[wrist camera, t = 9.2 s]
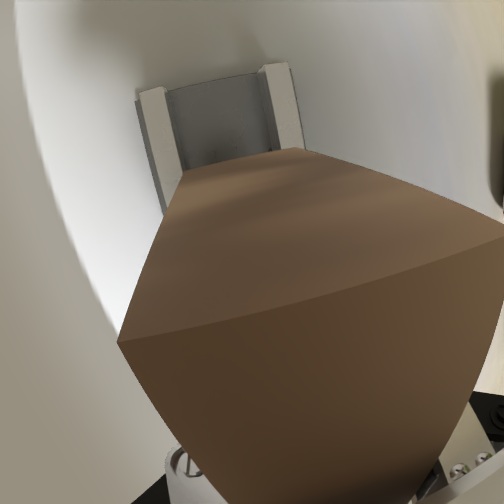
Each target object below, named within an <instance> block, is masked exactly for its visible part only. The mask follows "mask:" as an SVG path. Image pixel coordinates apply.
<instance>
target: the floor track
mask: <svg viewBox="0 0 504 504" xmlns="http://www.w3.org/2000/svg"><path fill="white" fill-rule="evenodd" d="M139 96H140V100H138V101H135V105H136V110H137V114H138V119H139V123H140V128H141V132H142V136H143V140H144V144H145V148H146V152H147V156H148V160H149V164H150V168H151V172H152V176H153V179H154V183H155V187H156V191H157V194H158V198H159V201H160V205H161V208H162V212H163V215H165V213H166V210H167V208H168V206H169V204H170V201H171V199H172V197H173V195H174V192H175V190H176V188H177V186H178V184H179V181H180V179H181V177H182V175H183V173H184V171H186V170H190V169H194V168H198V167H202V166H206V165H211V164H215V163H219V162H223V161H228V160H232V159H237V158H241V157H246V156H251V155H256V154H261V153H266V152H271V151H276V150H281V149H287V148H292V147H297V148H301V149H305V150H306V147H305V141H304V136H303V130H302V125H301V119H300V114H299V108H298V103H297V98H296V93H295V88H294V83H293V78H292V74H291V69H290V68H289V65H288V62H281V63H273V64H265V65H263V66H262V67H261V69H260V70H259V71H258V72H257V73H252V74H246V75H240V76H235V77H229V78H224V79H219V80H214V81H210V82H205V83H200V84H196V85H192V86H188V87H184V88H180V89H176V90H172V91H168V90H167V89H165V88H164V87H163V86H160V87H156V88H153V89H149V90H146V91H143V92H140V93H139Z"/></svg>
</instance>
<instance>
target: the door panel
mask: <svg viewBox="0 0 504 504" xmlns="http://www.w3.org/2000/svg"><path fill="white" fill-rule="evenodd" d="M503 301H504V224H502V223H500V222H498V221H496V220H494V219H492V218H490V217H488V216H485V215H483V214H481V213H479V212H477V211H475V210H472V209H470V208H468V207H466V206H464V205H461V204H459V203H457V202H454V201H452V200H450V199H447V198H445V197H443V196H440V195H438V194H435V193H433V192H430V191H428V190H425V189H423V188H420V187H418V186H415V185H412V184H410V183H407V182H404V181H402V180H399V179H396V178H393V177H391V176H388V175H385V174H382V173H379V172H376V171H373V170H370V169H367V168H364V167H361V166H358V165H355V164H352V163H349V162H346V161H343V160H339V159H336V158H333V157H329V156H326V155H323V154H319V153H316V152H312V151H308V150H305V149H301V148H297V147H292V148H287V149H281V150H276V151H271V152H266V153H261V154H256V155H251V156H246V157H241V158H237V159H232V160H228V161H223V162H219V163H215V164H211V165H206V166H202V167H198V168H194V169H190V170H186V171H184V173H183V175H182V177H181V179H180V181H179V184H178V186H177V188H176V190H175V192H174V195H173V197H172V199H171V201H170V204H169V206H168V208H167V210H166V213H165V215H164V217H163V220H162V222H161V224H160V227H159V229H158V232H157V234H156V236H155V239H154V241H153V244H152V246H151V249H150V251H149V254H148V256H147V259H146V261H145V264H144V266H143V269H142V272H141V274H140V277H139V279H138V282H137V285H136V288H135V290H134V293H133V296H132V299H131V301H130V304H129V307H128V310H127V313H126V316H125V319H124V322H123V324H122V327H121V330H120V334H119V337H118V340H117V344H118V346H119V348H120V349H121V351H122V353H123V355H124V357H125V359H126V360H127V362H128V364H129V366H130V367H131V369H132V371H133V372H134V374H135V376H136V378H137V379H138V381H139V383H140V384H141V386H142V388H143V389H144V391H145V393H146V394H147V396H148V397H149V399H150V400H151V402H152V403H153V405H154V407H155V408H156V410H157V411H158V413H159V414H160V416H161V417H162V419H163V420H164V422H165V423H166V425H167V426H168V428H169V429H170V431H171V432H172V433H173V435H174V436H175V437H176V439H177V440H178V442H179V443H180V445H181V446H182V447H183V449H184V450H185V451H186V453H187V454H188V455H189V457H190V458H191V459H192V461H193V462H194V463H195V464H196V466H197V467H198V468H199V470H200V471H201V472H202V473H203V475H204V476H205V477H206V478H207V479H208V481H209V482H210V483H211V484H212V486H213V487H214V488H215V489H216V490H217V491H218V493H219V494H220V495H221V496H222V497H223V498H224V499H225V501H226V502H227V503H228V504H408V503H409V502H410V500H411V499H412V498H413V496H414V495H415V493H416V492H417V491H418V489H419V488H420V486H421V485H422V483H423V482H424V480H425V479H426V477H427V476H428V474H429V473H430V471H431V469H432V468H433V466H434V465H435V463H436V461H437V460H438V458H439V456H440V455H441V453H442V451H443V449H444V448H445V446H446V444H447V442H448V441H449V439H450V437H451V435H452V433H453V431H454V429H455V427H456V426H457V424H458V422H459V420H460V418H461V416H462V414H463V411H464V409H465V407H466V405H467V403H468V401H469V398H470V396H471V394H472V392H473V389H474V387H475V385H476V382H477V380H478V377H479V375H480V372H481V370H482V367H483V364H484V362H485V359H486V356H487V354H488V351H489V348H490V345H491V342H492V339H493V336H494V332H495V329H496V326H497V323H498V319H499V316H500V312H501V308H502V304H503Z"/></svg>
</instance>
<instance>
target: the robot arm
mask: <svg viewBox="0 0 504 504" xmlns="http://www.w3.org/2000/svg"><path fill="white" fill-rule="evenodd" d="M165 472H166V473H165V474H164V475H163V476H162V477H161V478H160V479H159V480H158V481H157V482H155V483H154V484H153V485H152V486H151V487H150V488H149V489H147V490H146V491H145V492H144V493H143V494H142V495H141V496H139V497H138V498H137V499H136V500H135V501H134V502H132V503H131V504H228V503H227V502H226V501H225V499H224V498H223V497H222V496H221V495H220V494H219V493H218V491H217V490H216V489H215V488H214V487H213V486H212V484H211V483H210V482H209V481H208V479H207V478H206V477H205V476H204V475H203V473H202V472H201V471H200V470H199V468H198V467H197V466H196V464H195V463H194V462H193V461H192V459H191V458H190V457H189V455H188V454H187V453H186V451H185V450H184V449H183V447H182V446H181V445H180V443H178V444H177V445H176V446H174V447H173V448H172V449H171V450H170V451H169V452H168V454H167V456H166V459H165ZM408 504H504V396H503V395H496V394H489V393H483V392H476V391H473V392H472V394H471V396H470V398H469V401H468V403H467V405H466V407H465V409H464V411H463V414H462V416H461V418H460V420H459V422H458V424H457V426H456V427H455V429H454V431H453V433H452V435H451V437H450V439H449V441H448V442H447V444H446V446H445V448H444V449H443V451H442V453H441V455H440V456H439V458H438V460H437V461H436V463H435V465H434V466H433V468H432V469H431V471H430V473H429V474H428V476H427V477H426V479H425V480H424V482H423V483H422V485H421V486H420V488H419V489H418V491H417V492H416V493H415V495H414V496H413V498H412V499H411V500H410V502H409V503H408Z"/></svg>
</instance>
